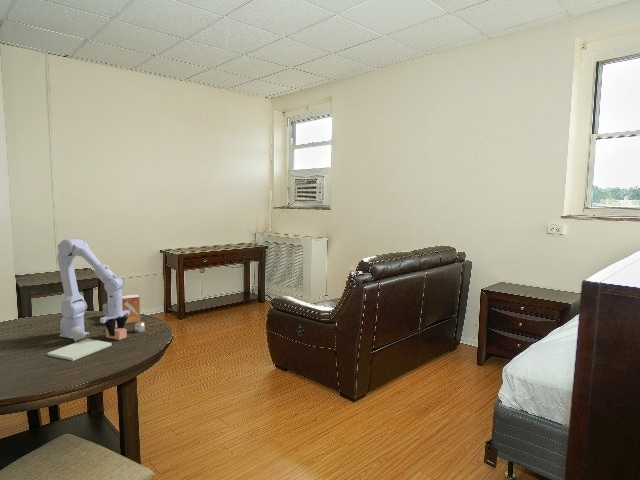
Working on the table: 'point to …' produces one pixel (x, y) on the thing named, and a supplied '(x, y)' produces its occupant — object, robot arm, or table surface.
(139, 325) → the light grey cylinder
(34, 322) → the table surface
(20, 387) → the table surface
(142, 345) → the table surface
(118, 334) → the terracotta brick
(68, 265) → the robot arm
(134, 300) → the small box
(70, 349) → the board
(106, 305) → the tin
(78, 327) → the grey-blue slab
